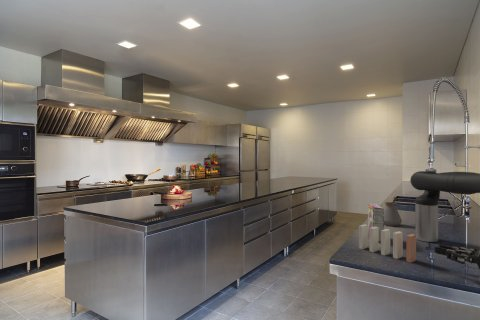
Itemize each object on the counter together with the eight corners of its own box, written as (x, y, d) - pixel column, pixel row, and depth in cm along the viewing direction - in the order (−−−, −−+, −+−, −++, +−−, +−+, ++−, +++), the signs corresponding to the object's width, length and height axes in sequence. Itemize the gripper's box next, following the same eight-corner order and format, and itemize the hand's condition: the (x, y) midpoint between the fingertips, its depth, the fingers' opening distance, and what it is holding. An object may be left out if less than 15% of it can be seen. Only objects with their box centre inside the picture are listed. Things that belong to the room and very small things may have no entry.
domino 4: (398, 255, 119) (398, 231, 119) (402, 256, 118) (402, 232, 117) (393, 257, 116) (393, 232, 116) (397, 258, 115) (397, 233, 115)
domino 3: (386, 252, 123) (386, 228, 123) (390, 253, 122) (390, 229, 122) (380, 254, 120) (380, 230, 120) (384, 255, 119) (384, 231, 119)
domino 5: (411, 259, 115) (411, 233, 115) (416, 260, 113) (416, 234, 113) (406, 261, 112) (406, 235, 112) (410, 262, 111) (410, 236, 111)
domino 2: (375, 249, 127) (375, 226, 127) (378, 250, 126) (378, 227, 126) (369, 251, 124) (369, 228, 124) (373, 252, 123) (373, 228, 123)
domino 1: (364, 246, 131) (364, 224, 131) (367, 247, 130) (367, 225, 130) (358, 248, 129) (358, 225, 128) (362, 249, 127) (362, 226, 127)
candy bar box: (367, 235, 149) (367, 203, 149) (377, 236, 148) (377, 204, 148) (372, 242, 138) (372, 207, 138) (384, 242, 137) (384, 207, 137)
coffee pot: (400, 228, 164) (400, 201, 164) (378, 225, 171) (378, 199, 171) (406, 221, 181) (405, 197, 181) (385, 218, 188) (385, 195, 188)
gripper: (505, 246, 95) (445, 235, 109) (492, 255, 87) (428, 241, 101) (505, 269, 95) (445, 255, 110) (492, 280, 87) (428, 263, 101)
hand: (437, 248), depth 105 cm, fingers open, 3 cm apart
